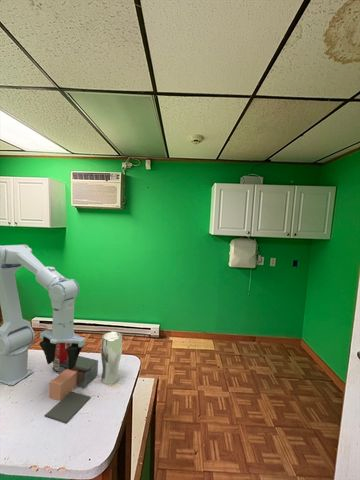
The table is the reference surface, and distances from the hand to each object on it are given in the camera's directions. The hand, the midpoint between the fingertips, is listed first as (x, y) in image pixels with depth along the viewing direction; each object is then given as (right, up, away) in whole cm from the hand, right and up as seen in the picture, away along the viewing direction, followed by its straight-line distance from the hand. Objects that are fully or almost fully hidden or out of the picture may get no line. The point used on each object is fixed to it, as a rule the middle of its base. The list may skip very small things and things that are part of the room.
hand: (61, 364), depth 72 cm
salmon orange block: (0, -9, +3) cm, 10 cm away
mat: (+4, -10, -4) cm, 11 cm away
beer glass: (+12, -10, +9) cm, 18 cm away
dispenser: (+2, -9, +9) cm, 13 cm away
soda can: (-6, -9, +14) cm, 18 cm away
